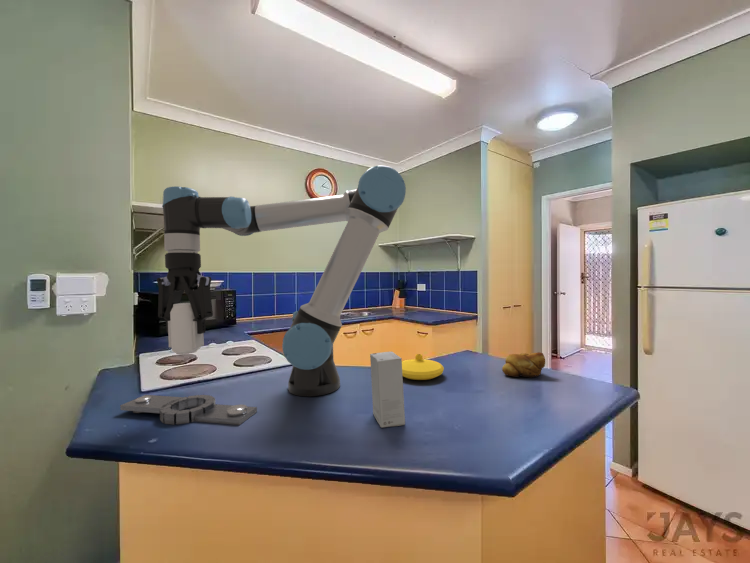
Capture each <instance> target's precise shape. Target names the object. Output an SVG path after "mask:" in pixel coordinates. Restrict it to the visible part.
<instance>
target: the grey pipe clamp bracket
mask: <svg viewBox="0 0 750 563" xmlns="http://www.w3.org/2000/svg"><path fill="white" fill-rule="evenodd" d="M119 409H120V411H128V412H132V413H133V414H135V415H136V414H138V415H139V414H143V413H151V414H159V420H160V422H161V423H162V424H164V425H177V426H178V425H182V424H189V423H190V422H191V423H193V422H199V423H210V424H222V425H224V424H225V425H232V426H233V425H234V426H240V425H242V424H243V423H244V422H246V421H247V420H248V419H250V418H251V417H253V416H254V415H255V414H256V413H258V407H257V406H247V404H236V405H232V404H218V403H217V404H216V397H214V396H212V395H210V394H209V395H208V394H196V395H188V396H170V395H168V396H167V395H154V394H144V395H142V396H139V397H137V398H134V399H133V400H130V401H127V402H125V403H122V404H120V408H119Z"/></svg>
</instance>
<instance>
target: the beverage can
mask: <svg viewBox="0 0 750 563" xmlns="http://www.w3.org/2000/svg"><path fill="white" fill-rule="evenodd" d="M193 319H195V317H194V314H193V311H192V308H191V305H190V302H182V303H181V302H180V303H178V304H173V308H172V310H171V311H170V320H171V345H172V347H171V352H173V353H176V355H190V354H193V353H196V352H197V351H198V350H200V349H201V347H202V346H201V347H198V348H193V333H192V321H193Z"/></svg>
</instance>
